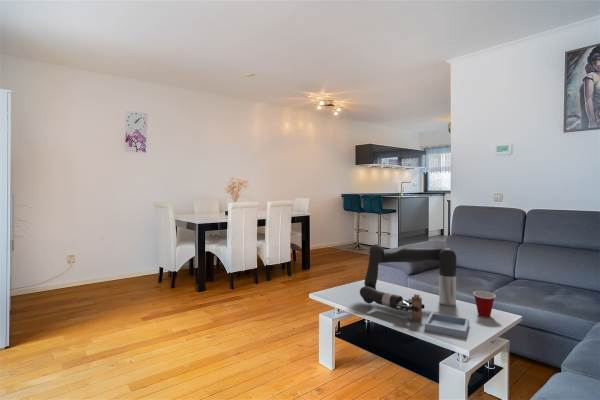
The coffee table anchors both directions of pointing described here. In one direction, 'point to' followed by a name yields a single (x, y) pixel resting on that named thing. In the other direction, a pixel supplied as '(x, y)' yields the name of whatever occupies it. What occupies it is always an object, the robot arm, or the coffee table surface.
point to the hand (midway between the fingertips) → (421, 308)
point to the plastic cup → (484, 302)
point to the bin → (447, 325)
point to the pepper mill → (418, 303)
